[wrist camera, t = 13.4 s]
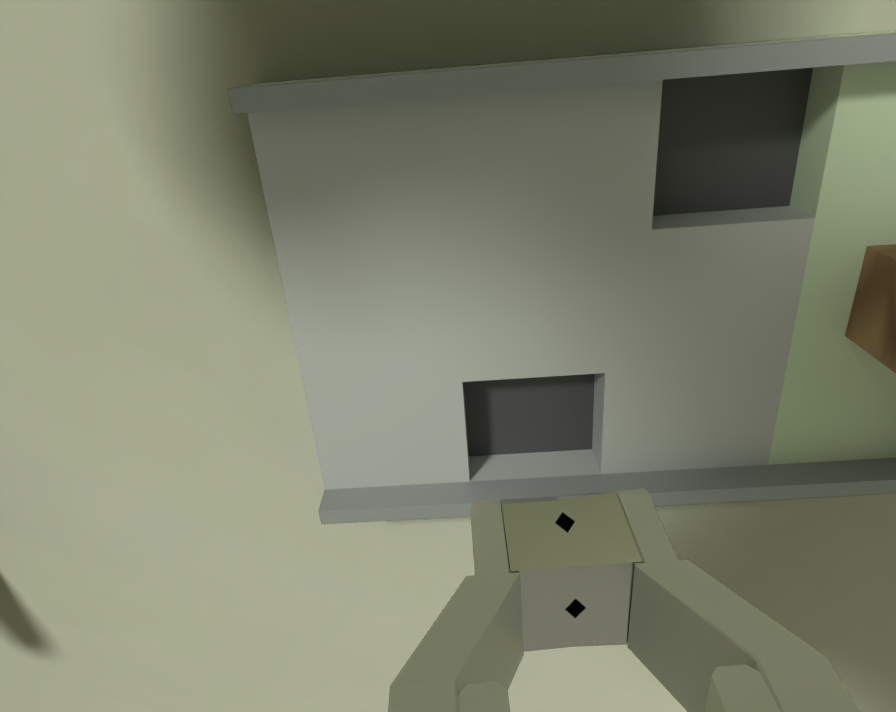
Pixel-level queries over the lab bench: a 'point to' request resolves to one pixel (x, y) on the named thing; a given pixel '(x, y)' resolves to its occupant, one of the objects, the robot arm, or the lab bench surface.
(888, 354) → the walnut block
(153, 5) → the lab bench surface
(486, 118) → the box
